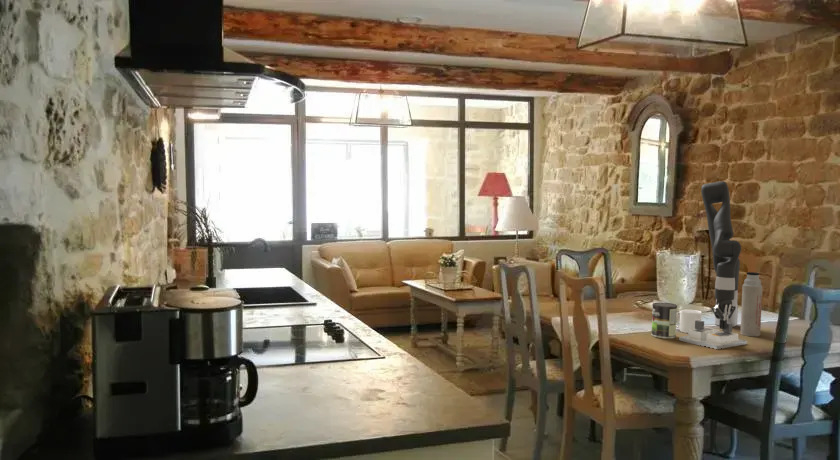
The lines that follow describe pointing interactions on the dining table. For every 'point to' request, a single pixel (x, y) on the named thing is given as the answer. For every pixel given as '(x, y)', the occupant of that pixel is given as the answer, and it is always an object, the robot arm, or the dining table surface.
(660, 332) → the coffee can
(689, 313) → the mug
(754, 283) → the thermos bottle
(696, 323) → the on breaker handle
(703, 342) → the breaker panel
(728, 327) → the breaker handle
